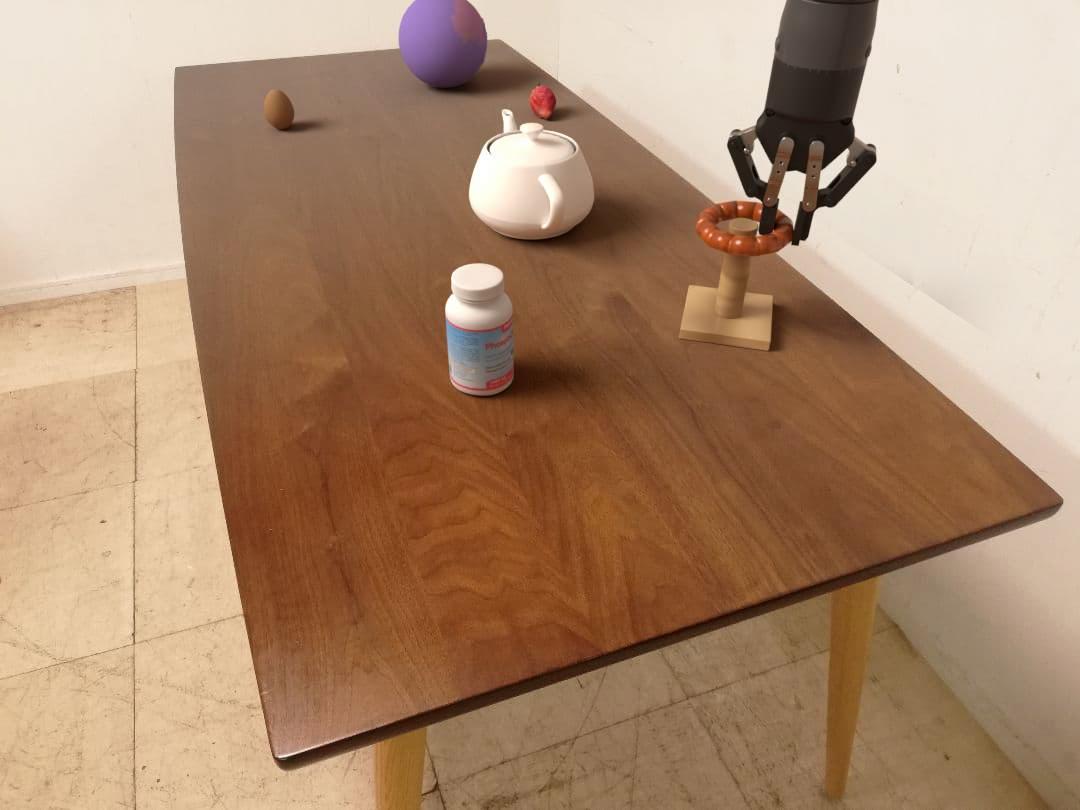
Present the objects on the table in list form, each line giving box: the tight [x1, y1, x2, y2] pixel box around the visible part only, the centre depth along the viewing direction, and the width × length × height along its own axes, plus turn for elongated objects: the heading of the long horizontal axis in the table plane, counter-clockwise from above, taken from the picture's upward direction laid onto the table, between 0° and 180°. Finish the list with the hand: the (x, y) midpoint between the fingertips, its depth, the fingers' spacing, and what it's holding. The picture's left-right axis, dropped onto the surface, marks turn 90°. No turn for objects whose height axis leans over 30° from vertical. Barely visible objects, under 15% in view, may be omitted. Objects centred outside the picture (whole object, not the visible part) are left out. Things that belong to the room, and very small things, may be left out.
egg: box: [263, 88, 295, 130], centre depth 126 cm, size 4×4×6 cm
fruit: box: [529, 80, 557, 121], centre depth 131 cm, size 4×6×5 cm
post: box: [678, 218, 774, 352], centre depth 83 cm, size 9×9×11 cm
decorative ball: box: [398, 0, 488, 89], centre depth 139 cm, size 15×15×15 cm
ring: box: [695, 200, 794, 257], centre depth 79 cm, size 9×9×2 cm
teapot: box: [468, 108, 595, 240], centre depth 101 cm, size 25×16×12 cm, turn 16°
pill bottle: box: [444, 262, 515, 397], centre depth 75 cm, size 6×6×11 cm
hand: (781, 239), depth 79 cm, fingers closed on ring, 2 cm apart
